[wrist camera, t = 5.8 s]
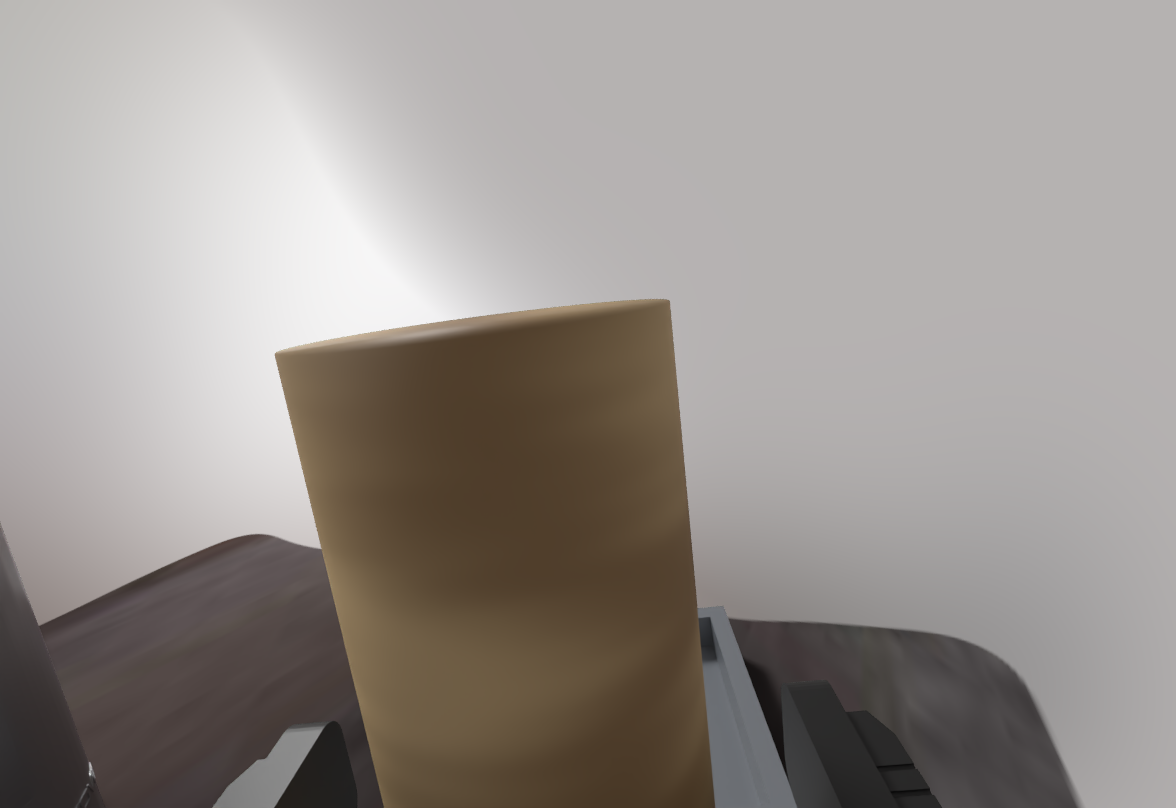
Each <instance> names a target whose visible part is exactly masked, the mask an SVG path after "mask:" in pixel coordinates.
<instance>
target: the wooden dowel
mask: <svg viewBox="0 0 1176 808" xmlns="http://www.w3.org/2000/svg"><path fill="white" fill-rule="evenodd" d="M275 358H276V362H277V366H278V370H279V375H280V379H281V383H282V387H283V391H284V395H285V399H286V403H287V408H288V412H289V416H290V420H291V424H292V428H293V432H294V436H295V440H296V445H297V449H298V453H299V457H300V461H301V465H302V470H303V474H304V477H305V482H306V486H307V490H308V494H309V499H310V503H311V507H312V511H313V515H314V519H315V523H316V527H317V531H318V535H319V540H320V544H321V548H322V552H323V556H324V561H325V565H326V569H327V573H328V577H329V581H330V585H331V589H332V594H333V598H334V602H335V606H336V610H337V614H338V618H339V623H340V627H341V631H342V635H343V639H344V643H345V647H346V651H347V656H348V660H349V664H350V668H351V672H352V676H353V680H354V685H355V689H356V693H357V697H358V701H359V705H360V709H361V713H362V718H363V722H364V726H365V730H366V734H367V738H368V742H369V746H370V751H371V755H372V759H373V763H374V767H375V771H376V775H377V780H378V784H379V788H380V792H381V796H382V800H383V804H384V808H715V798H714V787H713V775H712V764H711V753H710V742H709V731H708V720H707V709H706V698H705V687H704V676H703V665H702V654H701V643H700V631H699V620H698V609H697V599H696V587H695V576H694V565H693V554H692V543H691V532H690V521H689V510H688V499H687V487H686V478H685V477H686V476H685V466H684V455H683V443H682V433H681V421H680V410H679V399H678V388H677V378H676V367H675V355H674V344H673V333H672V322H671V310H670V301H669V300H664V299H645V300H629V301H628V300H627V301H614V302H602V303H592V304H581V305H572V306H563V307H553V308H544V309H537V310H527V311H519V312H511V313H503V314H495V315H487V316H479V317H472V318H465V319H457V320H450V321H443V322H436V323H429V324H422V325H416V326H409V327H402V328H396V329H389V330H383V331H376V332H370V333H364V334H358V335H353V336H347V337H341V338H336V339H330V340H325V341H320V342H315V343H310V344H305V345H301V346H296V347H292V348H288V349H284V350H281V351H278V352H276V353H275Z"/></svg>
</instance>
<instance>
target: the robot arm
mask: <svg viewBox="0 0 1176 808" xmlns="http://www.w3.org/2000/svg"><path fill="white" fill-rule="evenodd" d="M781 700H782V717H783V735H784V752H785V763H786V769H787V774H788V779H789V783H790V787H791V791H792V794H793V797H794V800H795V803H796V806H797V808H942V807H941V805H940V804H939V802H938V800H937V799H936V797H935V796H934V795H932V794H931V792H930V788H929V786H928V785H927V783H926V782H925V780H924V779H923V777H922V776H921V774H920V772H919V771H918V769H915V767H914V763H913V762H912V760H911V758H910V757H909V755H908V754H907V752H906V751H905V749H904V747H903V746H902V744H901V743H900V741H899V740H898V738H897V737H896V735H895V734H894V733H893V732H892V731H891V730H889V729H888V728H887V727H886V726H885V725H883V724H882V723H881V722H880V721H879V720H877V719H876V718H875V717H874V716H872V715H871V714H870V713H869V712H868V711H855V712H845V710H844V708H843V707H842V705H841V703H840V701H839V699H838V698H837V696H836V694H835V692H834V691H833V689H832V687H831V685H830V684H829V683H828V681H826V680H817V681H805V682H794V683H783V684H782V687H781ZM0 808H105V805H104V803H103V800H102V797H101V794H100V792H99V789H98V786H97V784H96V779H95V774H94V771H93V768H92V765H91V762H90V763H89V762H88V759H87V756H86V754H85V751H84V748H83V746H82V743H81V740H80V738H79V735H78V732H77V728H76V726H75V723H74V720H73V718H72V715H71V712H70V709H69V707H68V704H67V701H66V699H65V696H64V693H63V691H62V688H61V685H60V682H59V680H58V677H57V674H56V672H55V669H54V666H53V664H52V661H51V658H50V655H49V653H48V650H47V647H46V645H45V642H44V639H43V637H42V634H41V631H40V628H39V626H38V623H37V620H36V618H35V615H34V612H33V610H32V607H31V604H30V601H29V599H28V596H27V593H26V591H25V588H24V585H23V583H22V580H21V577H20V574H19V572H18V569H17V566H16V564H15V561H14V558H13V556H12V553H11V550H10V547H9V545H8V542H7V539H6V537H5V534H4V531H3V529H2V526H1V523H0ZM212 808H357V788H356V784H355V780H354V776H353V772H352V768H351V764H350V760H349V756H348V752H347V748H346V745H345V741H344V737H343V733H342V729H341V727H340V725H339V724H338V723H337V722H336V721H328V722H317V723H305V724H295V725H292V726H290V727H289V728H288V729H287V730H286V731H285V733H284V734H283V735H282V737H281V738H280V740H279V741H278V742H277V744H276V745H275V747H274V748H273V750H272V751H271V752H270V754H269V755H268V757H267V758H266V759H263V760H257V761H256V762H255V763H254V764H253V765H252V766H251V767H250V768H248V769H247V770H246V771H245V772H244V773H243V774H242V775H240V776H239V777H238V778H237V779H236V780H235V781H234V782H233V783H231V784H230V785H229V786H228V787H227V789H226V790H225V791H224V793H223V794H222V795H221V797H220V798H219V799H218V801H217V802H216V803H215V805H214V806H213V807H212Z"/></svg>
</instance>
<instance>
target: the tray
mask: <svg viewBox="0 0 1176 808" xmlns="http://www.w3.org/2000/svg"><path fill="white" fill-rule="evenodd" d="M697 609H698V620H699V631H700V643H701V654H702V665H703V676H704V687H705V698H706V709H707V720H708V731H709V742H710V753H711V764H712V775H713V787H714V798H715V808H797V806H796V803H795V800H794V797H793V794H792V791H791V788H790V785H789V782H788V779H787V777H786V774H785V771H784V769H783V766H782V763H781V760H780V758H779V755H778V752H777V750H776V747H775V744H774V742H773V739H772V736H771V733H770V731H769V728H768V725H767V723H766V720H765V717H764V715H763V712H762V709H761V706H760V704H759V701H758V698H757V696H756V693H755V690H754V688H753V685H752V682H751V679H750V677H749V674H748V671H747V669H746V666H745V663H744V661H743V658H742V655H741V652H740V650H739V647H738V644H737V642H736V639H735V636H734V634H733V631H732V628H731V625H730V623H729V620H728V617H727V615H726V612H725V609H724V607H723V606H718V607H708V608H697Z"/></svg>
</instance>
